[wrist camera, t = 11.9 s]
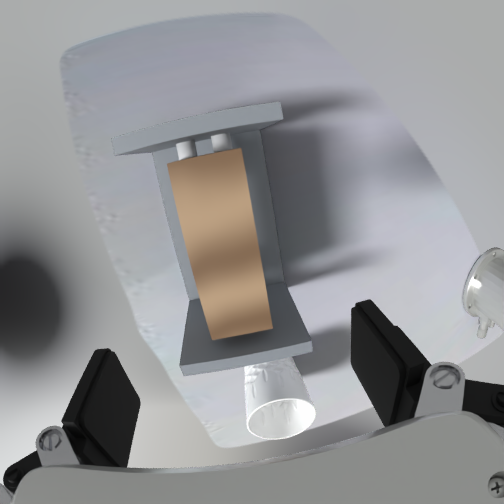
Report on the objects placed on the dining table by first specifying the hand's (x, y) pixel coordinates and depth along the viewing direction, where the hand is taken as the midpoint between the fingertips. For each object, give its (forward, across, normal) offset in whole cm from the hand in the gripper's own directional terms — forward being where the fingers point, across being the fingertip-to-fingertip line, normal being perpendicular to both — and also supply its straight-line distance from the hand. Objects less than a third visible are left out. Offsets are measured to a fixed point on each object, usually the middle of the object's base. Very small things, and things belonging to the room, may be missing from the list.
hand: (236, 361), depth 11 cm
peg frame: (+22, 0, 0) cm, 22 cm away
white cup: (+23, -2, +21) cm, 31 cm away
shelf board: (+16, 0, 0) cm, 16 cm away
